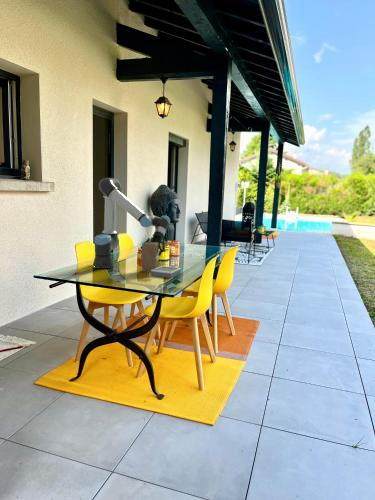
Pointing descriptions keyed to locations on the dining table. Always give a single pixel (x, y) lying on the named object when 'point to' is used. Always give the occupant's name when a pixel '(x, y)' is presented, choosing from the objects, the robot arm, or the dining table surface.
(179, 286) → the dining table surface
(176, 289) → the dining table surface
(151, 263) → the block
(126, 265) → the dining table surface
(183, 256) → the dining table surface
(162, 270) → the baseplate
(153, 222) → the robot arm
